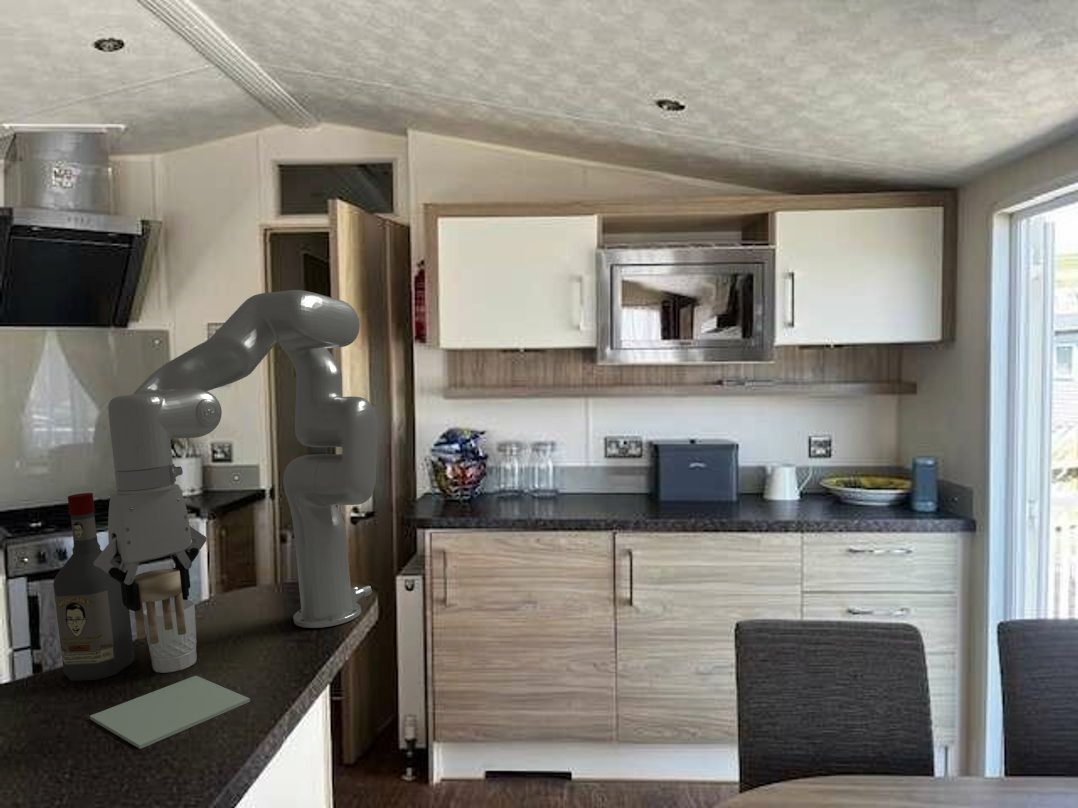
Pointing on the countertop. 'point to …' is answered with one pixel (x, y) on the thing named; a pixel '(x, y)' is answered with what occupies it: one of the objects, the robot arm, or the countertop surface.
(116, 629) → the liquor
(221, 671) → the countertop surface
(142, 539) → the robot arm
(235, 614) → the countertop surface
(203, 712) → the sage mat
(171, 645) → the white cup
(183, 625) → the round tan stool
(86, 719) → the countertop surface
